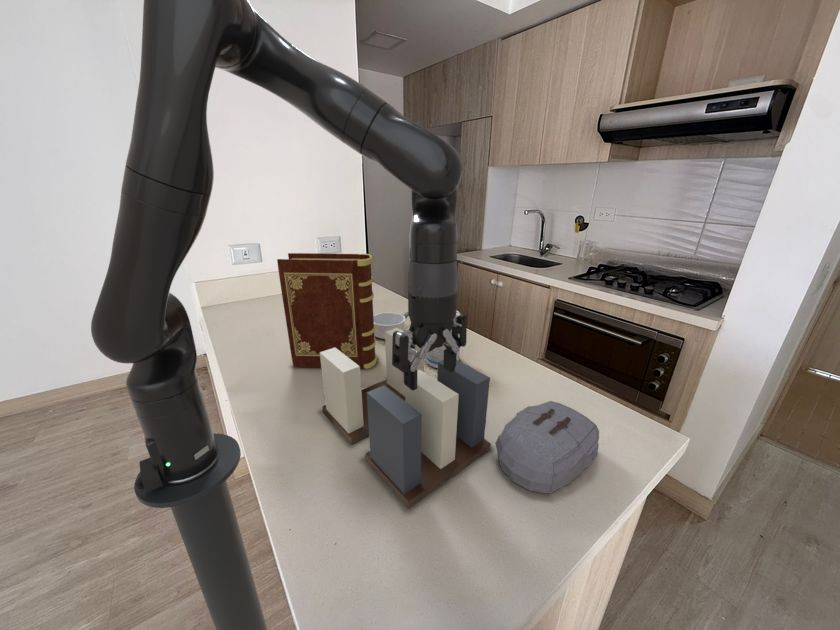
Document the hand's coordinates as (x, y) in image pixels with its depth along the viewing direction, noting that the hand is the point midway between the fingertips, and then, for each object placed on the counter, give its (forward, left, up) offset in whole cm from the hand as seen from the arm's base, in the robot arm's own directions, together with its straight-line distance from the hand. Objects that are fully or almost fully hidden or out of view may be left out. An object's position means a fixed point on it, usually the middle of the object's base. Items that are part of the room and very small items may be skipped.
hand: (430, 378), depth 58 cm
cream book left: (-8, +18, -15) cm, 25 cm away
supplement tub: (+26, +24, -17) cm, 39 cm away
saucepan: (+29, +49, -17) cm, 59 cm away
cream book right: (+8, +18, -15) cm, 25 cm away
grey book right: (+8, 0, -15) cm, 17 cm away
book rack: (0, +9, -17) cm, 19 cm away
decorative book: (+3, +43, -17) cm, 46 cm away
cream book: (0, 0, -15) cm, 15 cm away
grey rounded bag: (+16, -14, -17) cm, 27 cm away
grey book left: (-8, 0, -15) cm, 17 cm away
